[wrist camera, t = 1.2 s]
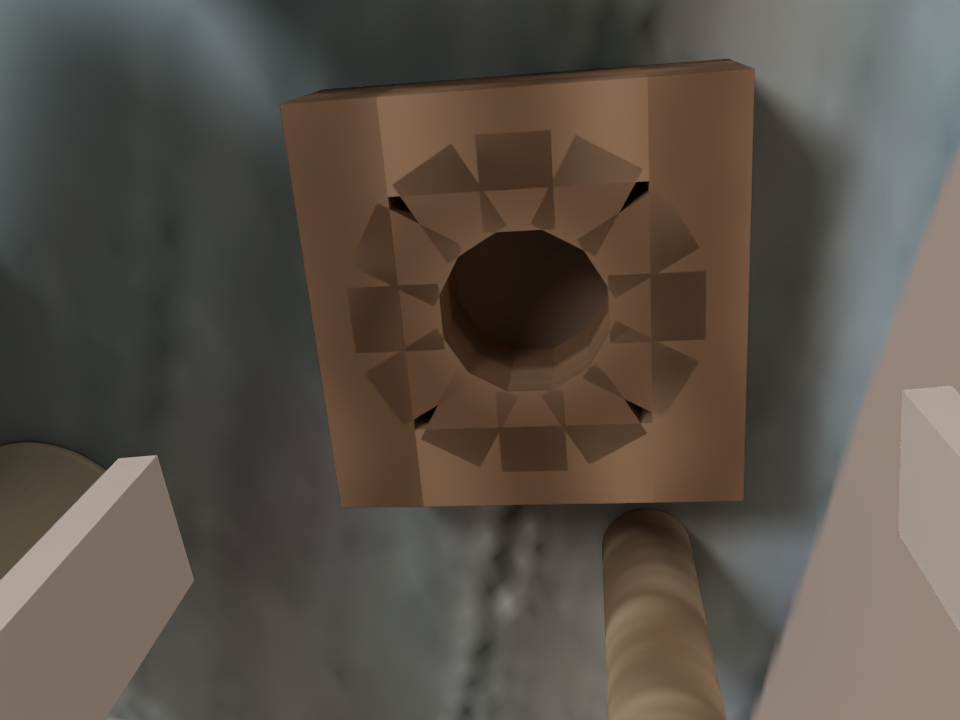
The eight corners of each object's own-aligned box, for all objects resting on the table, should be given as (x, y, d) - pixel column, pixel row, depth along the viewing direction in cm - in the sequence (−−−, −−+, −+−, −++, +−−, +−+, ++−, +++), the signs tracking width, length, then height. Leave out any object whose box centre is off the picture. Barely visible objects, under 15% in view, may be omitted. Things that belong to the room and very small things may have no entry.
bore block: (370, 445, 37) (341, 507, 33) (322, 89, 32) (279, 104, 28) (722, 436, 36) (743, 500, 31) (728, 58, 31) (754, 69, 26)
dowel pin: (603, 584, 39) (612, 819, 28) (600, 509, 37) (608, 724, 26) (690, 583, 38) (735, 822, 27) (690, 508, 37) (737, 726, 26)
